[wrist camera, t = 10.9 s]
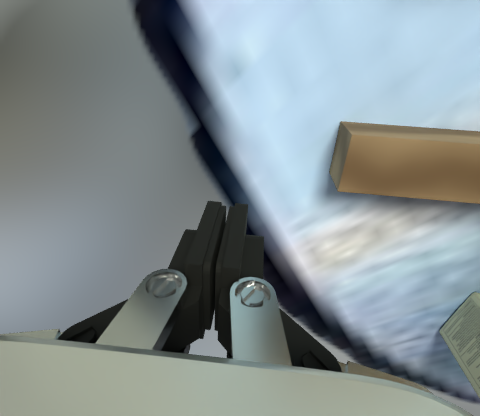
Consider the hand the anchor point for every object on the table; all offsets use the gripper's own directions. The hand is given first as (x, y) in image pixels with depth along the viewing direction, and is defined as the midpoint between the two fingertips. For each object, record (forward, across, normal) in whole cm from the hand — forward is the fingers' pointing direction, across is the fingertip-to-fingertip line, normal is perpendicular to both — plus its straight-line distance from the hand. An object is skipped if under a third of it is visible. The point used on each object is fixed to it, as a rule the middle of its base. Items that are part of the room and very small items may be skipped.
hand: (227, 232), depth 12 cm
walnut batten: (+12, -14, 0) cm, 19 cm away
